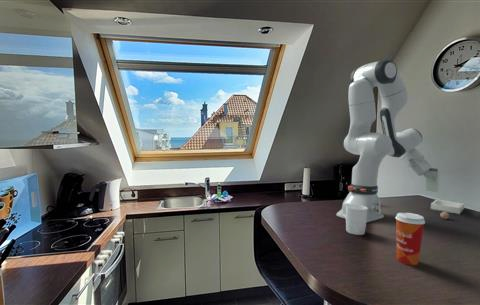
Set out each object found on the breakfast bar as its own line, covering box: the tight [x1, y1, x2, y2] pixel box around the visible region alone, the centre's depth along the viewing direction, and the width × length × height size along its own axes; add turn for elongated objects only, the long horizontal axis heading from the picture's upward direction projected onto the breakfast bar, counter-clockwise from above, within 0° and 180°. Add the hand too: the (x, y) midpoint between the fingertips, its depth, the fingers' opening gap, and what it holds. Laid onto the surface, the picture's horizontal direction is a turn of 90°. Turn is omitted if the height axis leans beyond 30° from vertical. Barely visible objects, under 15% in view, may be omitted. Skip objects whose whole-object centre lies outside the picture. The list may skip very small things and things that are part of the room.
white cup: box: [345, 204, 368, 236], centre depth 106 cm, size 8×8×10 cm
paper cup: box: [395, 212, 426, 266], centre depth 82 cm, size 8×8×14 cm
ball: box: [440, 211, 450, 220], centre depth 126 cm, size 3×3×3 cm
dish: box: [430, 198, 465, 215], centre depth 143 cm, size 14×12×3 cm
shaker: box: [425, 167, 441, 193], centre depth 137 cm, size 4×4×11 cm
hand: (434, 180), depth 136 cm, fingers closed on shaker, 4 cm apart
